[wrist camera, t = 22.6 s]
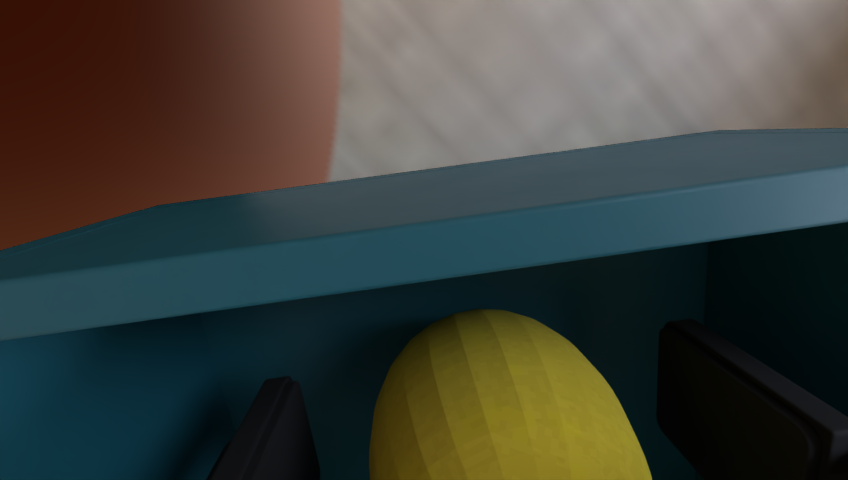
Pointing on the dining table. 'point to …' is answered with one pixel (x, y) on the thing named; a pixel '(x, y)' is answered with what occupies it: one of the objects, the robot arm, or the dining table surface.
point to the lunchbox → (416, 294)
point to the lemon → (499, 407)
